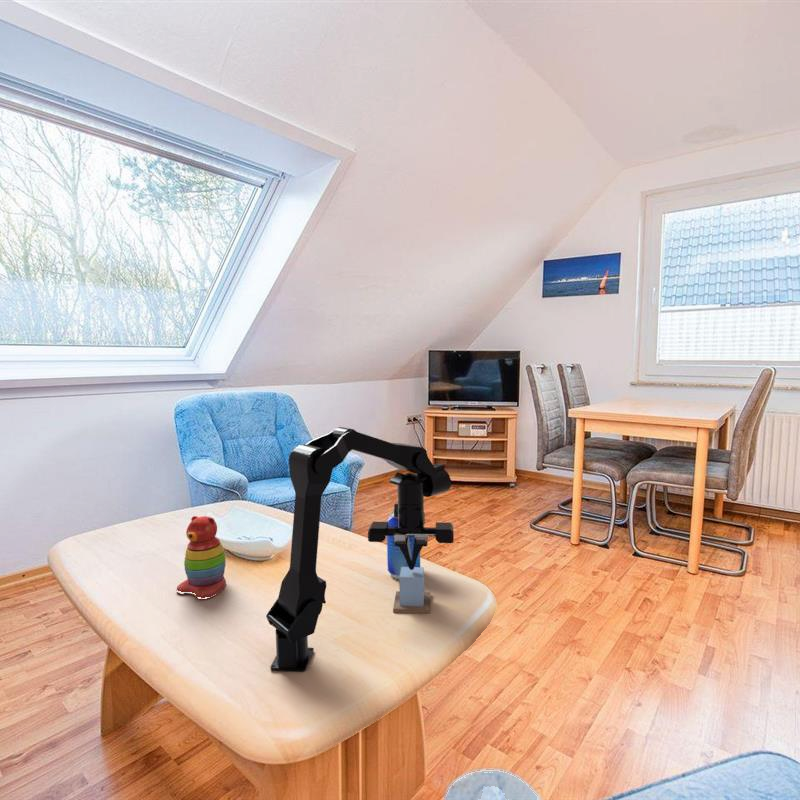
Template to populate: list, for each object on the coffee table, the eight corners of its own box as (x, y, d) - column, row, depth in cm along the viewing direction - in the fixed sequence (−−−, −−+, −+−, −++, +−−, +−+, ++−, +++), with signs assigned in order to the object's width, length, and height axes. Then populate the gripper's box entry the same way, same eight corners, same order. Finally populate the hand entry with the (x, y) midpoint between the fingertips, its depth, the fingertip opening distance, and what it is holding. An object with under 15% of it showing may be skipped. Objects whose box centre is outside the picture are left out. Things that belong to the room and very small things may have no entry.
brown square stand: (429, 613, 108) (429, 587, 107) (393, 612, 109) (392, 586, 108) (430, 595, 116) (430, 571, 115) (396, 594, 117) (395, 570, 116)
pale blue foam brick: (423, 606, 109) (422, 577, 109) (399, 605, 110) (399, 577, 109) (424, 594, 115) (423, 567, 114) (401, 594, 115) (401, 566, 114)
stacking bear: (172, 593, 119) (167, 521, 117) (205, 575, 128) (201, 508, 127) (205, 601, 115) (201, 527, 113) (237, 583, 124) (233, 513, 122)
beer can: (423, 568, 130) (422, 509, 129) (416, 583, 122) (415, 519, 121) (392, 565, 133) (391, 507, 131) (383, 579, 125) (382, 517, 123)
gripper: (452, 491, 117) (452, 555, 119) (373, 490, 119) (375, 553, 120) (453, 506, 106) (453, 576, 108) (366, 505, 108) (368, 574, 109)
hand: (411, 569), depth 111 cm, fingers closed
